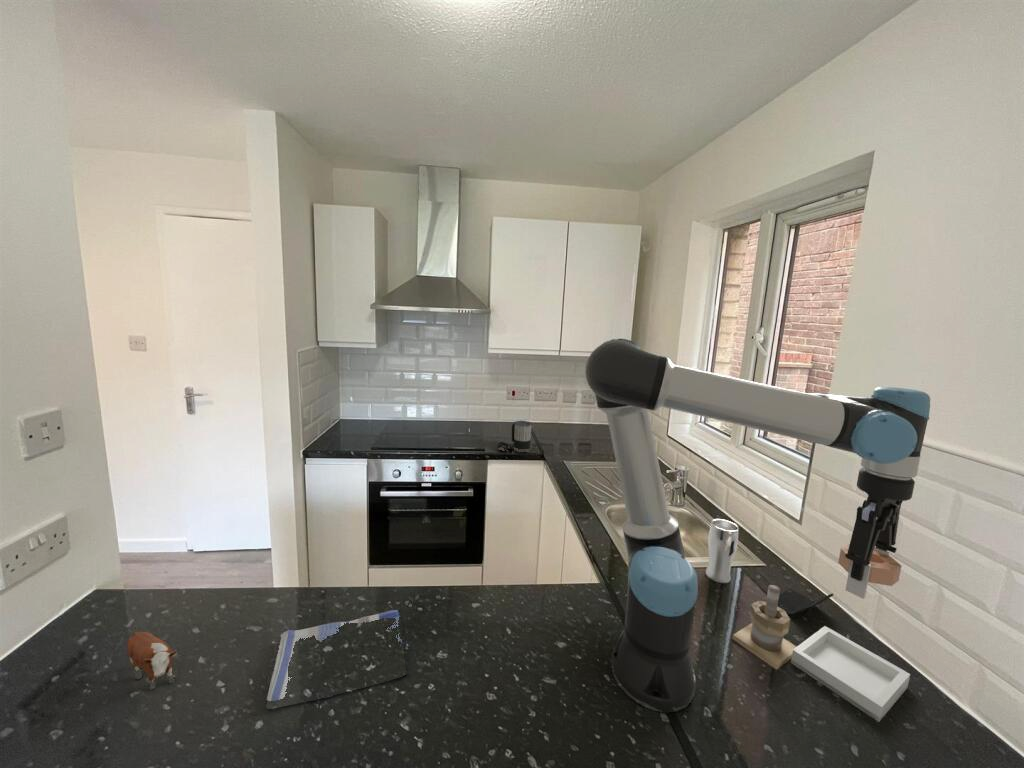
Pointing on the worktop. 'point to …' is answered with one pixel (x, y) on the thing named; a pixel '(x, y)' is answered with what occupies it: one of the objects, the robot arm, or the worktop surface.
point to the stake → (766, 636)
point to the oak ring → (769, 620)
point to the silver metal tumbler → (721, 549)
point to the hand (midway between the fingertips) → (864, 586)
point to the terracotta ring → (876, 567)
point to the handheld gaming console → (797, 602)
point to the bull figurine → (150, 654)
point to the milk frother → (520, 435)
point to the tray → (851, 671)
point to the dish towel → (290, 637)
